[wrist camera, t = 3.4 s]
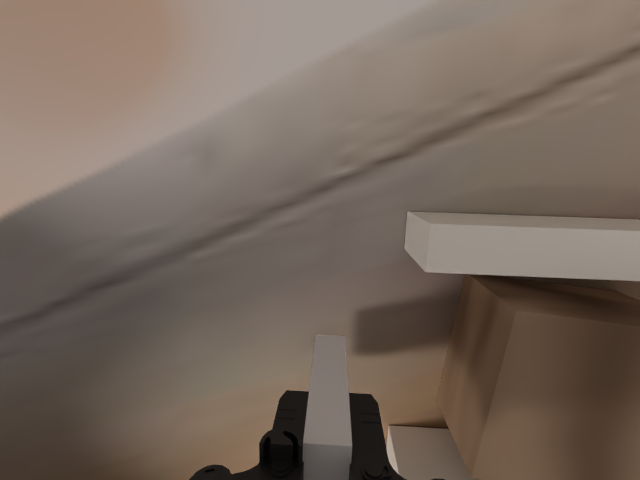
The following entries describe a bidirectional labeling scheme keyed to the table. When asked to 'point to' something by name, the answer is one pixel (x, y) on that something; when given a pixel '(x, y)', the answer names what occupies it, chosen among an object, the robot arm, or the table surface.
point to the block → (543, 381)
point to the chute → (507, 260)
